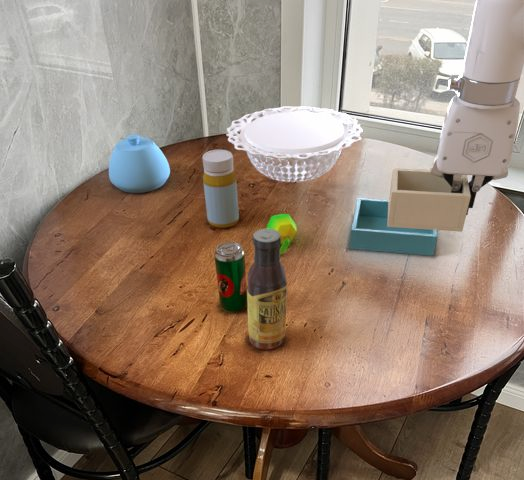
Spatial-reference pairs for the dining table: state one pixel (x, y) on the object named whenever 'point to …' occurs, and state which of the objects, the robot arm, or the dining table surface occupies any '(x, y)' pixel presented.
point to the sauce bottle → (266, 292)
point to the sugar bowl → (138, 165)
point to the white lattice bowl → (294, 140)
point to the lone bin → (426, 201)
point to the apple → (283, 229)
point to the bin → (387, 231)
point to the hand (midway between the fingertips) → (459, 210)
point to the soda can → (231, 276)
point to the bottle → (220, 188)
